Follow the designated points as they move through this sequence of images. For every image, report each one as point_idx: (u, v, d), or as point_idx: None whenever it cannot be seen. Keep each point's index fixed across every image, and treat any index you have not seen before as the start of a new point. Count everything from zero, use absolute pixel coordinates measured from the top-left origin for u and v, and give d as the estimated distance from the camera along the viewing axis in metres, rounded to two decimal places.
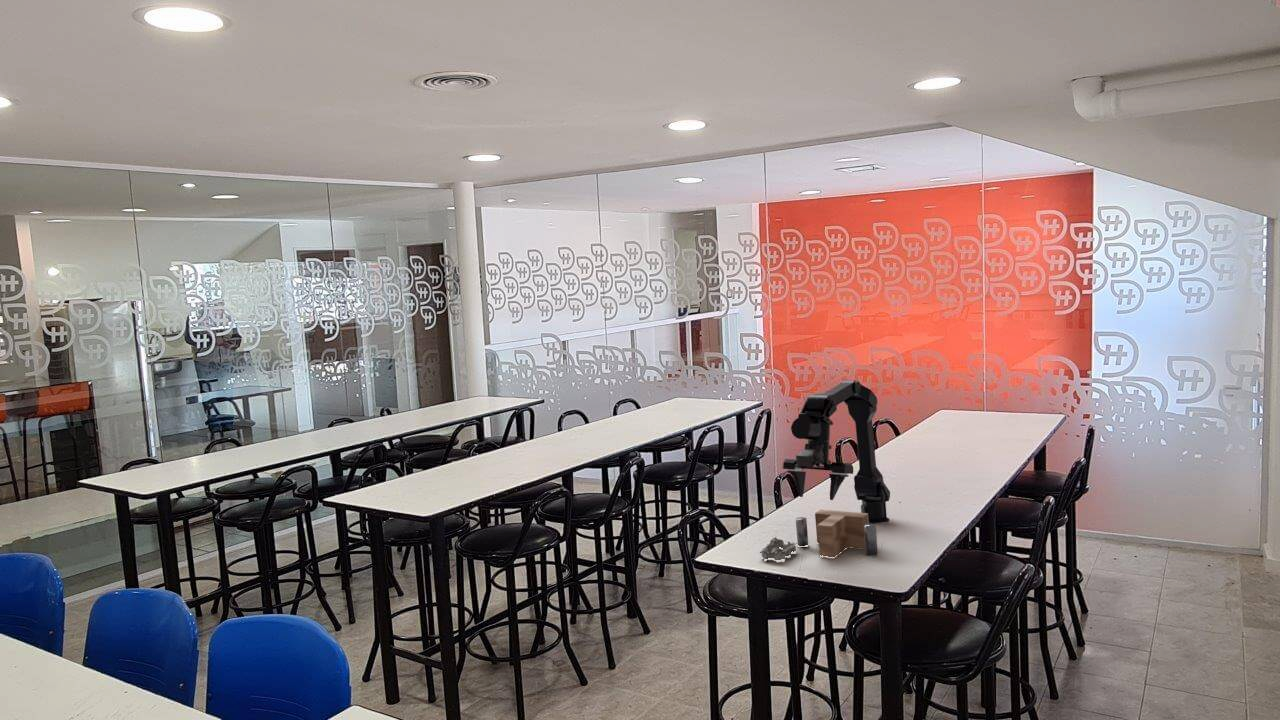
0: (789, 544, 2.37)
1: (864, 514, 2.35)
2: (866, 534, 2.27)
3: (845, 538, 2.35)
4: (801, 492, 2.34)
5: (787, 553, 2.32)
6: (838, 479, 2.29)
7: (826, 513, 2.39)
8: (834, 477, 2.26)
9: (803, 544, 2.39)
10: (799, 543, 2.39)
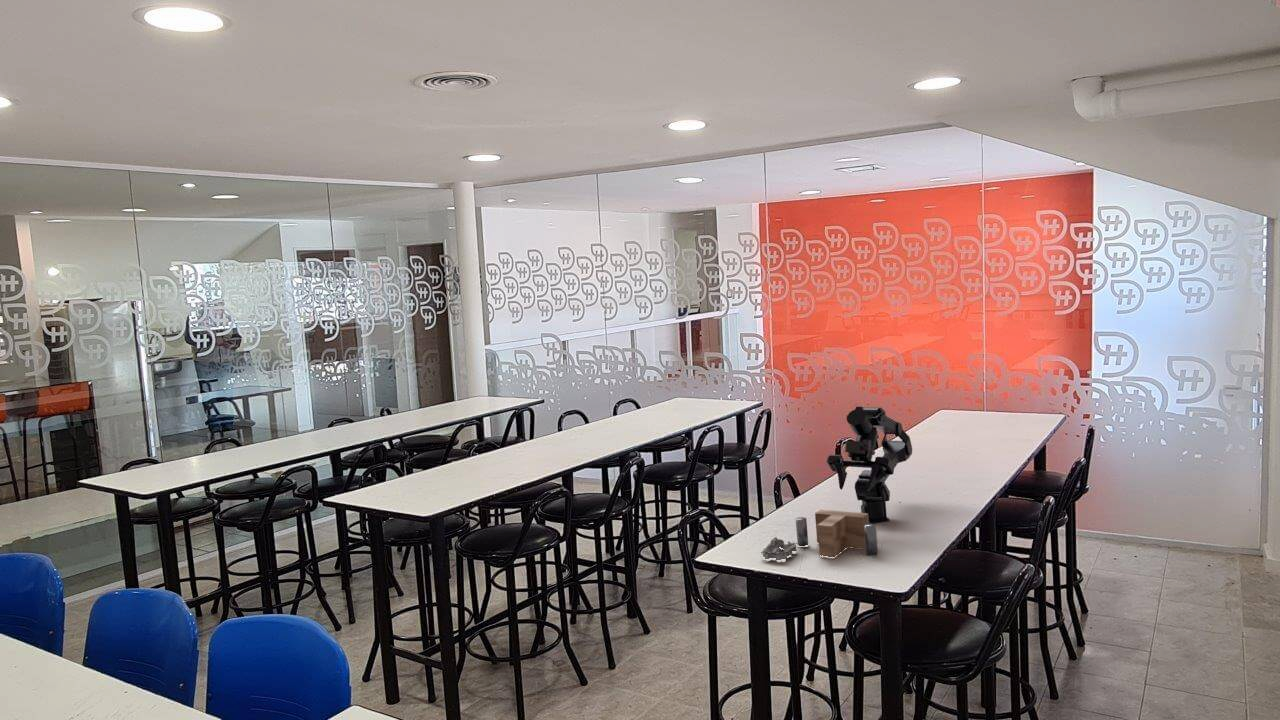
0: (789, 544, 2.37)
1: (864, 514, 2.35)
2: (866, 534, 2.27)
3: (845, 538, 2.35)
4: (841, 484, 2.49)
5: (788, 553, 2.32)
6: (877, 475, 2.46)
7: (826, 513, 2.39)
8: (876, 468, 2.44)
9: (803, 544, 2.39)
10: (799, 543, 2.39)
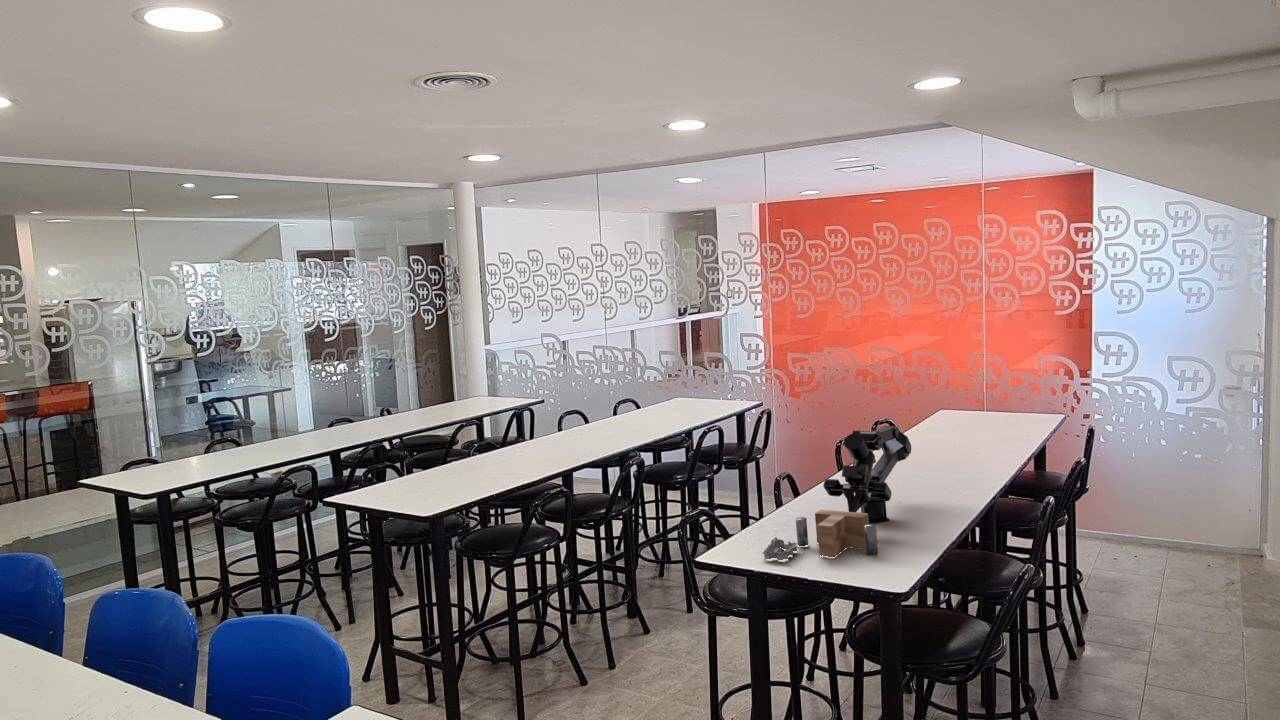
0: (790, 544, 2.37)
1: (864, 514, 2.35)
2: (866, 534, 2.27)
3: (845, 538, 2.35)
4: None
5: (790, 553, 2.32)
6: (861, 499, 2.46)
7: (826, 513, 2.39)
8: (859, 492, 2.44)
9: (803, 544, 2.39)
10: (799, 543, 2.39)
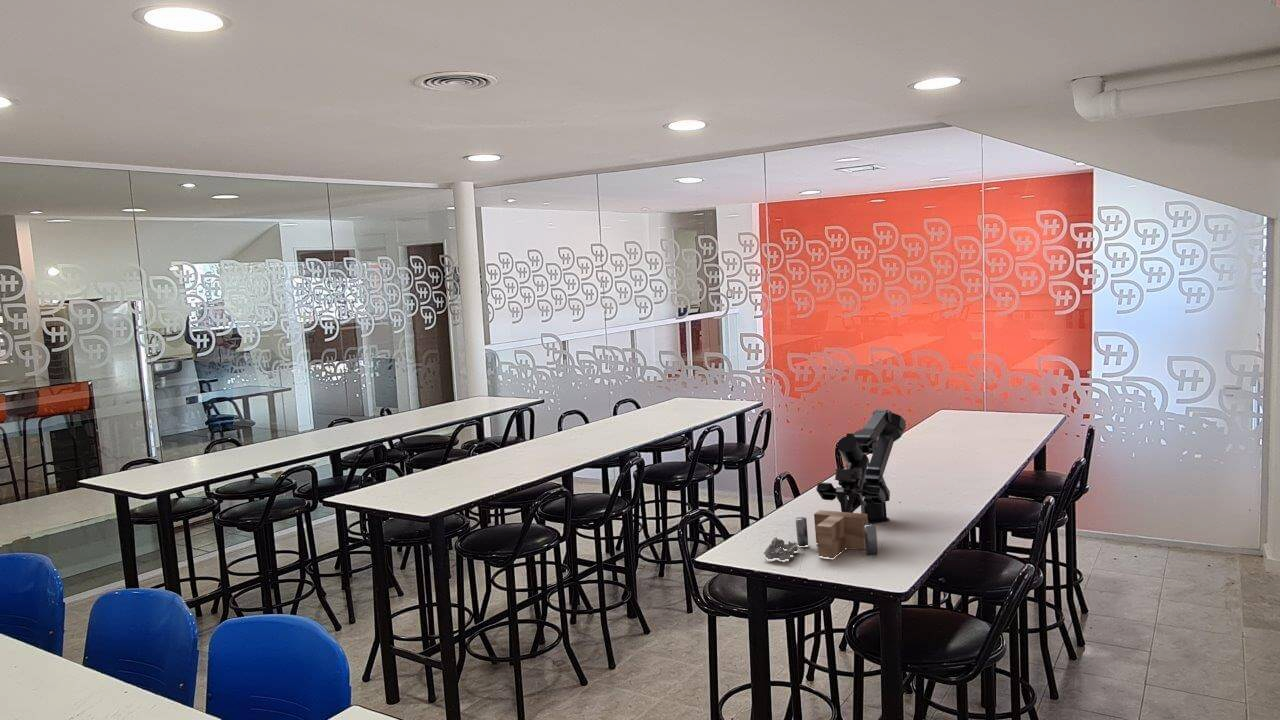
0: (790, 544, 2.37)
1: (863, 515, 2.34)
2: (866, 534, 2.27)
3: (844, 539, 2.34)
4: None
5: (791, 553, 2.32)
6: (854, 503, 2.42)
7: (825, 514, 2.38)
8: (853, 496, 2.40)
9: (803, 544, 2.39)
10: (799, 543, 2.39)
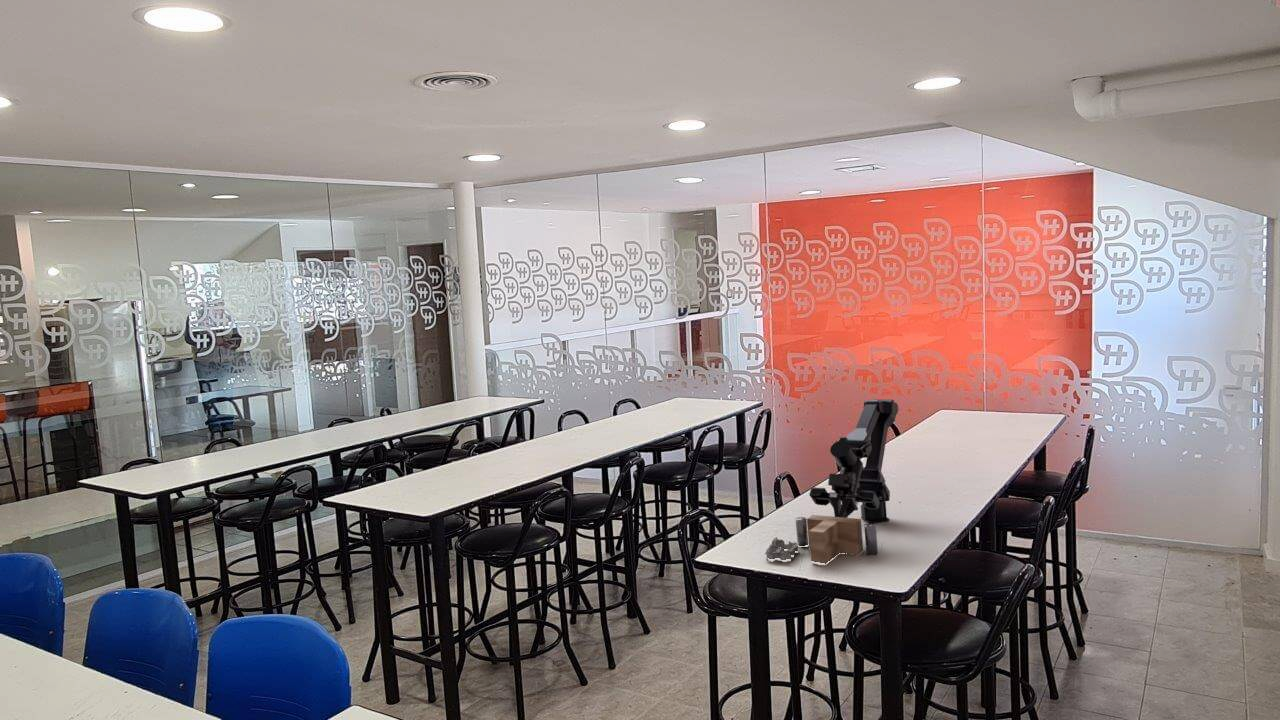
0: (790, 544, 2.37)
1: (857, 520, 2.30)
2: (866, 534, 2.27)
3: (837, 544, 2.30)
4: None
5: (792, 553, 2.32)
6: (848, 509, 2.38)
7: (818, 519, 2.34)
8: (846, 502, 2.36)
9: (803, 544, 2.39)
10: (799, 543, 2.39)
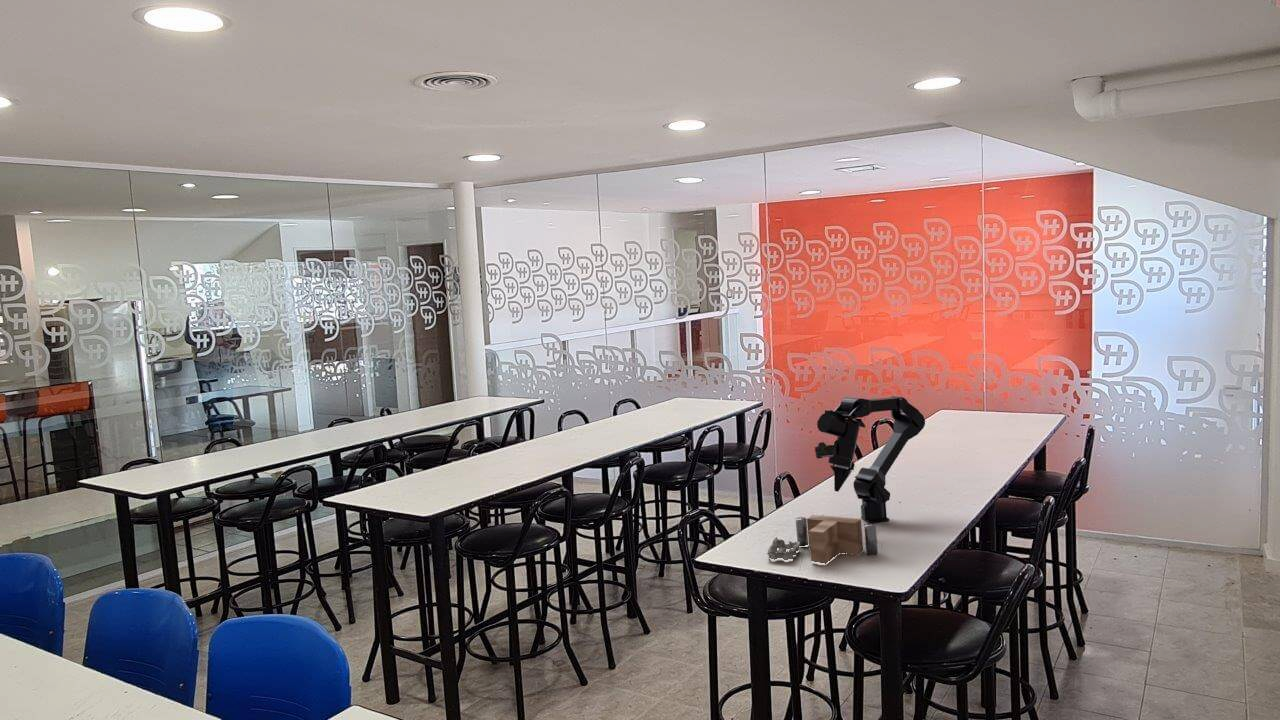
0: (791, 543, 2.38)
1: (857, 520, 2.30)
2: (866, 534, 2.27)
3: (837, 544, 2.30)
4: None
5: (793, 552, 2.32)
6: (842, 473, 2.49)
7: (818, 519, 2.34)
8: (832, 468, 2.49)
9: (803, 544, 2.39)
10: (799, 543, 2.39)
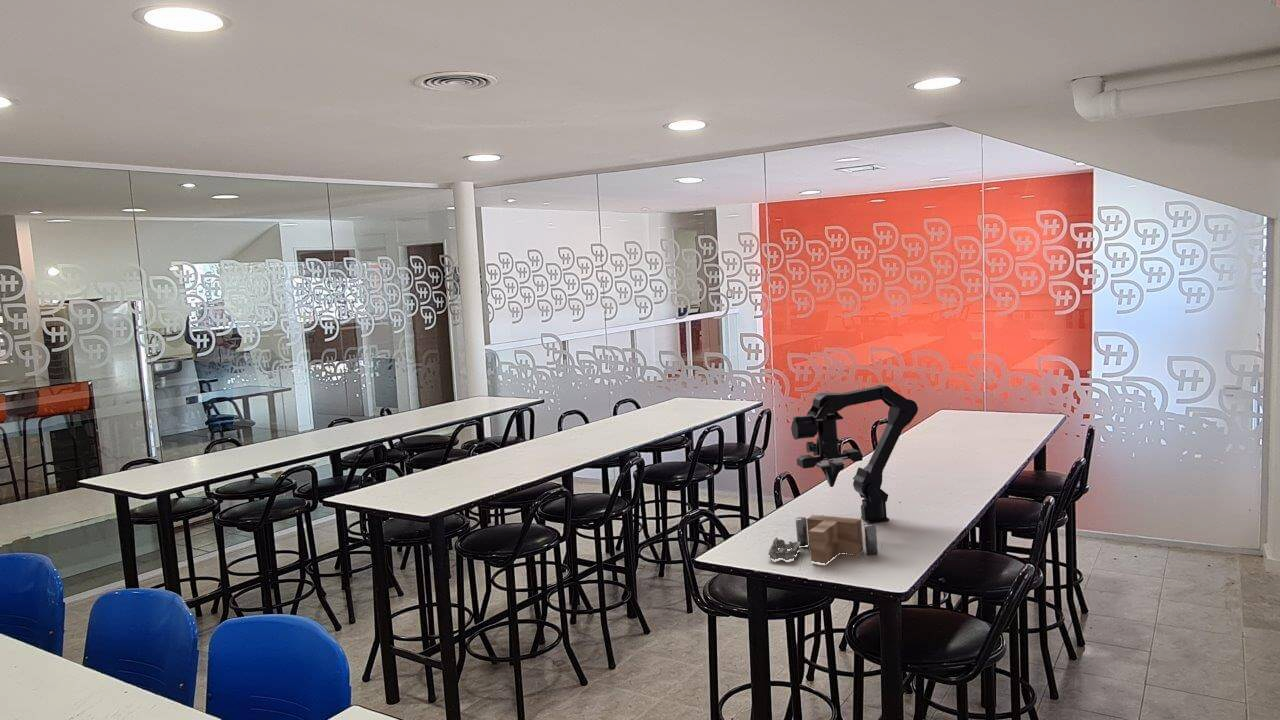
0: (791, 543, 2.38)
1: (857, 520, 2.30)
2: (866, 534, 2.27)
3: (837, 544, 2.30)
4: None
5: (794, 552, 2.32)
6: None
7: (818, 519, 2.34)
8: None
9: (803, 544, 2.39)
10: None
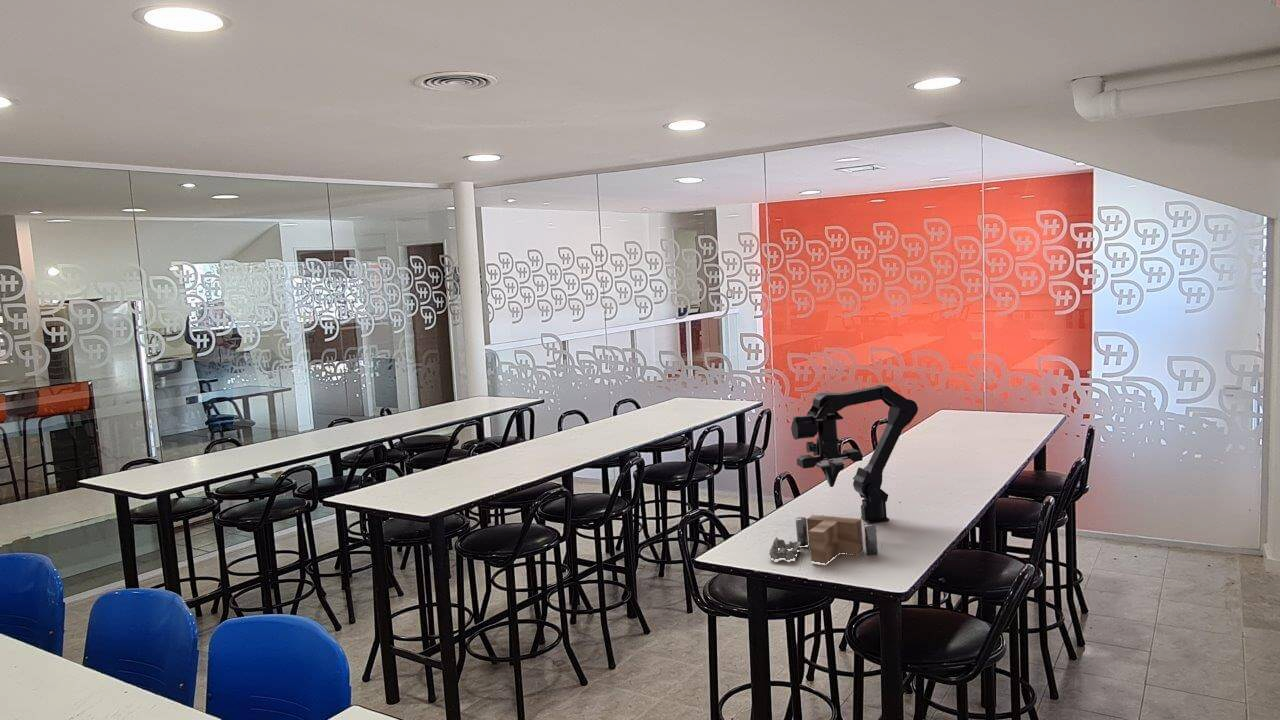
0: (791, 543, 2.38)
1: (857, 520, 2.30)
2: (866, 534, 2.27)
3: (837, 544, 2.30)
4: None
5: (795, 552, 2.32)
6: None
7: (818, 519, 2.34)
8: None
9: (803, 544, 2.39)
10: None
